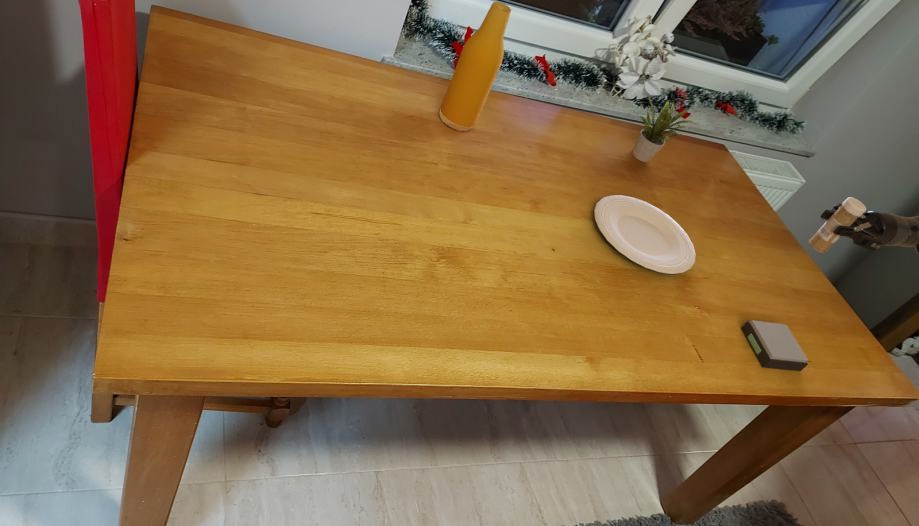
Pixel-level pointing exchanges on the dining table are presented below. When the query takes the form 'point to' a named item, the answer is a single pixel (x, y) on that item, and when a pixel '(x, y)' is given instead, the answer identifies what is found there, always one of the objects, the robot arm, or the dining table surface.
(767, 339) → the scale
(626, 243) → the plate
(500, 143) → the dining table surface
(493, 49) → the beer bottle
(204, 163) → the dining table surface
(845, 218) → the sprinkles bottle
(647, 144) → the house plant
